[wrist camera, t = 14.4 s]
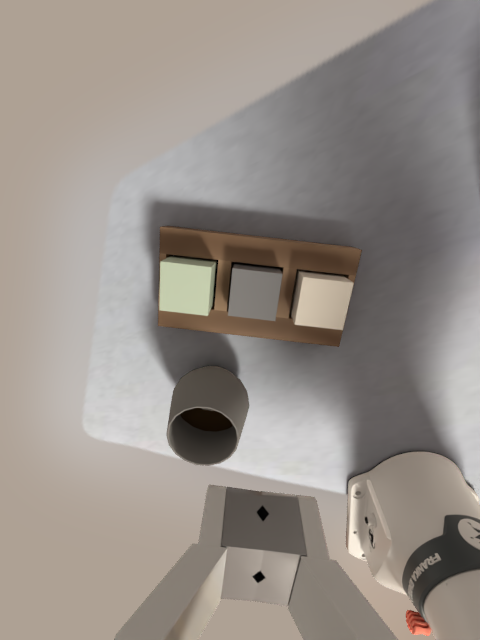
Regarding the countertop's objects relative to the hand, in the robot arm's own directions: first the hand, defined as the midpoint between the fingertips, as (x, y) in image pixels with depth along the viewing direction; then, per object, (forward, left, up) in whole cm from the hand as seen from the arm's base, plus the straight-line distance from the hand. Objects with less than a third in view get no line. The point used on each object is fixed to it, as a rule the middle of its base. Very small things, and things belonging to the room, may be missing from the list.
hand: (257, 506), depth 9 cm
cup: (-14, +4, -29) cm, 33 cm away
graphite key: (0, 0, -28) cm, 28 cm away
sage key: (0, +7, -27) cm, 28 cm away
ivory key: (0, -7, -28) cm, 29 cm away
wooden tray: (0, 0, -29) cm, 29 cm away
